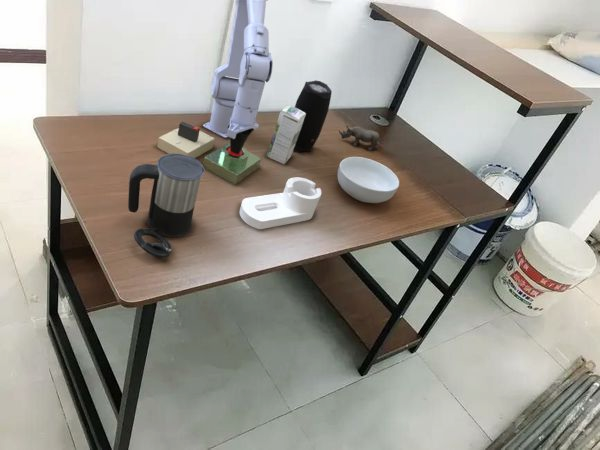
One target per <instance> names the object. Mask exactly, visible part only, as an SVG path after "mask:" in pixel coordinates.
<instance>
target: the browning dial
mask: <svg viewBox="0 0 600 450" xmlns="http://www.w3.org/2000/svg"><path fill="white" fill-rule="evenodd" d="M178 128H179V130H178V136H181V137H183V138H186V139H188V140H190V141H193V142H196V141H197V140H198V136H199V131H201V128H200V127H198V126H194V125H192V124H190V123H187V122H185V121H181V122H179V125H178Z"/></svg>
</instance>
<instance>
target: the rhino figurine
mask: <svg viewBox="0 0 600 450" xmlns="http://www.w3.org/2000/svg"><path fill="white" fill-rule="evenodd" d="M346 128H347V129H346V131H345V130H342V131H341V130H338V133H339V135H340V136H341V139H342V140H343V139H349V138H351V137H354V138H355V139H354V141H353V143H352V146H354V147H357V146H358V144H359V143H360V141H361V142H363V143H370V145H369V146H368V147H367V150H368V151H372V150H373V149H377V146H378V142H379V140H380V134H379V132H378V131H375V130H372V129H371V130H370V129H369V130H368V129H365V128H363V127H361V126H353V127H352V126H351V127H350V126H349V125H348V124H346Z"/></svg>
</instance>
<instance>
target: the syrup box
mask: <svg viewBox="0 0 600 450" xmlns="http://www.w3.org/2000/svg"><path fill="white" fill-rule="evenodd" d="M305 115H306V113H305V112H303V111H301V110H299V109H297V108H295V106H293V105H289V104H288V105H287V106H285V107H284V108H283V109H281V111H279V115H278V118H277V122H276V124H275V126H274V127H275V128H274V131H273V134H272V137H271V140H270V143H269V147H268V149H267V153H266V157H267V158H269V159H270V160H274V161H276V162H278V163H280V164H283V165H285V164H286V163H287V162H288V161H289V160H290V158H292V155H293V153H294V147H295V144H296V141H297V138H298V136H299V133H300V130H301V127H302V124H303V121H304V118H305Z"/></svg>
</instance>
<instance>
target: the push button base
mask: <svg viewBox="0 0 600 450" xmlns="http://www.w3.org/2000/svg"><path fill="white" fill-rule="evenodd" d="M228 148H230V141H229V142H228V143H225V144H223V145H222V146H221V147H219V148H217V149H215V150H213V151H212V152H210V153H209V154H206V155H205V156H204V157H203V160H202V165H203V167H204V169H205V170H207V171H209V172H211V173H213V174H214V175H217V176H218V177H220V178H222V179H223V180H226V181H227V182H229V183H231V184H233V185H237V184H238V183H240V182H241V181H242V180H244V179H246V178H247V177H248V176H250V175H251V174H252V173H253V172H255V171H257V170H258V169H259V168H260V165H261V161H262V158H261V157H259V156H258V155H256V154H253V153H251V152H249V151H248V150H247V149H246V148H245V147H244V146H243V147H242V149H241V151H242V152H243V155H242V156H234V155H231V154H229V153H228V152H227V149H228Z"/></svg>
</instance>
